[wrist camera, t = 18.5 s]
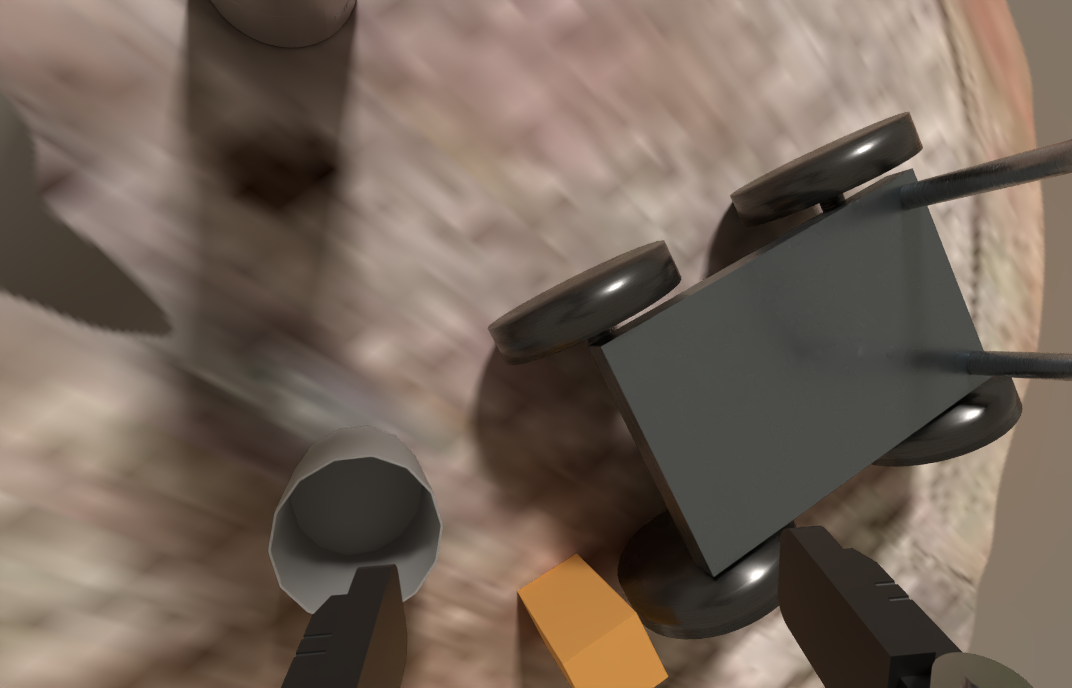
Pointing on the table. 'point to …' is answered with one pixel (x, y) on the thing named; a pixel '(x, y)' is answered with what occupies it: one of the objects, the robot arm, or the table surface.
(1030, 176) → the trolley
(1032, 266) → the table surface
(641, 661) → the orange rectangular block
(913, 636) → the robot arm
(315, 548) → the cup
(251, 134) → the table surface
